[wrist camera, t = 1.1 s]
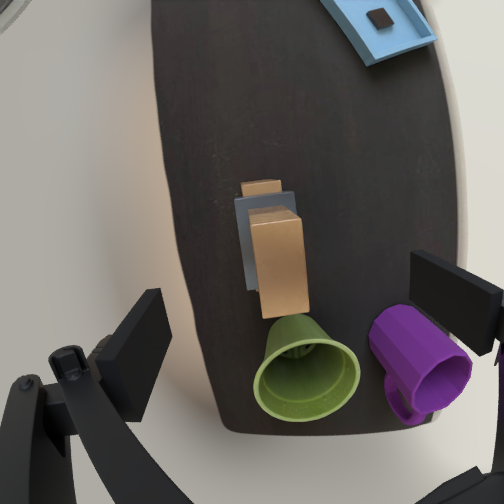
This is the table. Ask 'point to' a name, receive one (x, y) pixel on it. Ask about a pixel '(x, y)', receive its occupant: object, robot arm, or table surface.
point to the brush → (273, 252)
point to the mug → (417, 363)
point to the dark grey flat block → (380, 18)
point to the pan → (384, 40)
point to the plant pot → (304, 371)
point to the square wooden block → (260, 188)
